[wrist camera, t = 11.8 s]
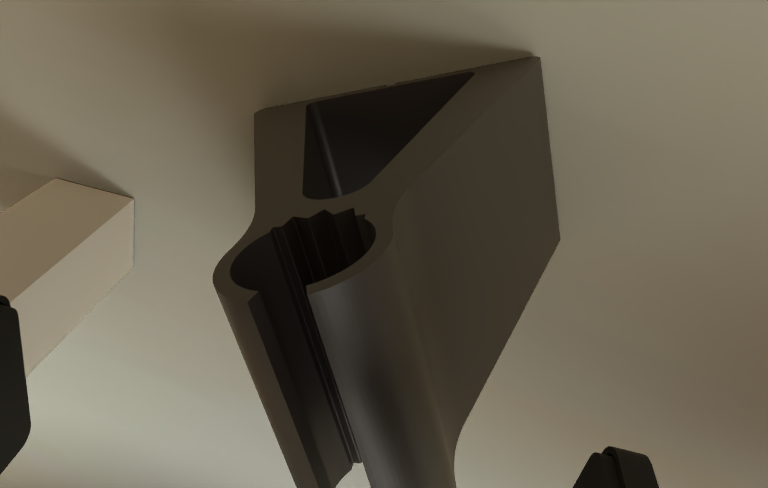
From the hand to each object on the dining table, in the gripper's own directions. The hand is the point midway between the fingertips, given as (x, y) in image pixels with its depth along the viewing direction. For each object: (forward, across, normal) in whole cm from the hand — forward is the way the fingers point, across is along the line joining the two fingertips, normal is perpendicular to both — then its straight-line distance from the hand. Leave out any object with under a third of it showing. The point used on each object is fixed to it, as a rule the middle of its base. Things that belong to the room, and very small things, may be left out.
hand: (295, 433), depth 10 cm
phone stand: (+12, -1, 0) cm, 12 cm away
